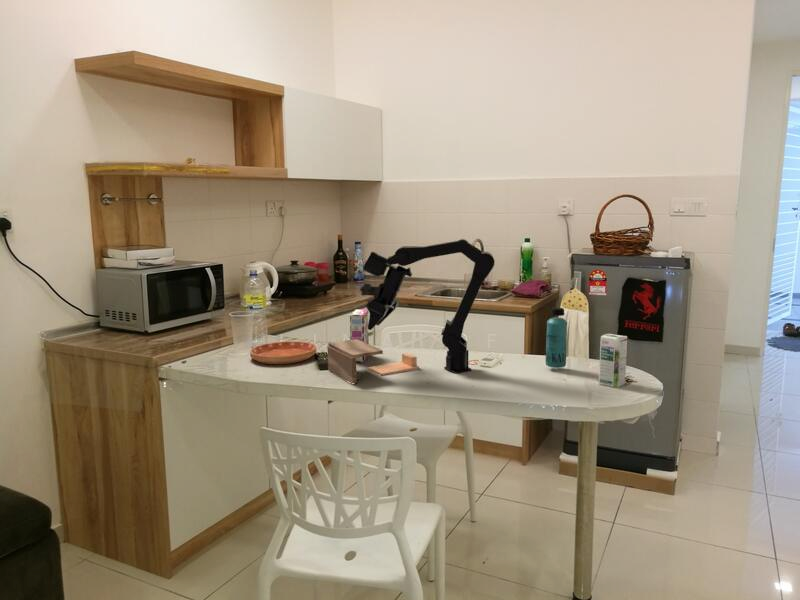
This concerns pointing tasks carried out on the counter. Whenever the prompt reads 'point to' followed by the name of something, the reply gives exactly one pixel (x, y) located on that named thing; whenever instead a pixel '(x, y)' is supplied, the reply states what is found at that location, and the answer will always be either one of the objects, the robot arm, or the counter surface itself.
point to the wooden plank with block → (397, 365)
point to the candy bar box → (359, 328)
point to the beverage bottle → (556, 340)
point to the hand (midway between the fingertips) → (373, 327)
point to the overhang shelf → (348, 358)
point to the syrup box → (612, 360)
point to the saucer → (283, 352)
